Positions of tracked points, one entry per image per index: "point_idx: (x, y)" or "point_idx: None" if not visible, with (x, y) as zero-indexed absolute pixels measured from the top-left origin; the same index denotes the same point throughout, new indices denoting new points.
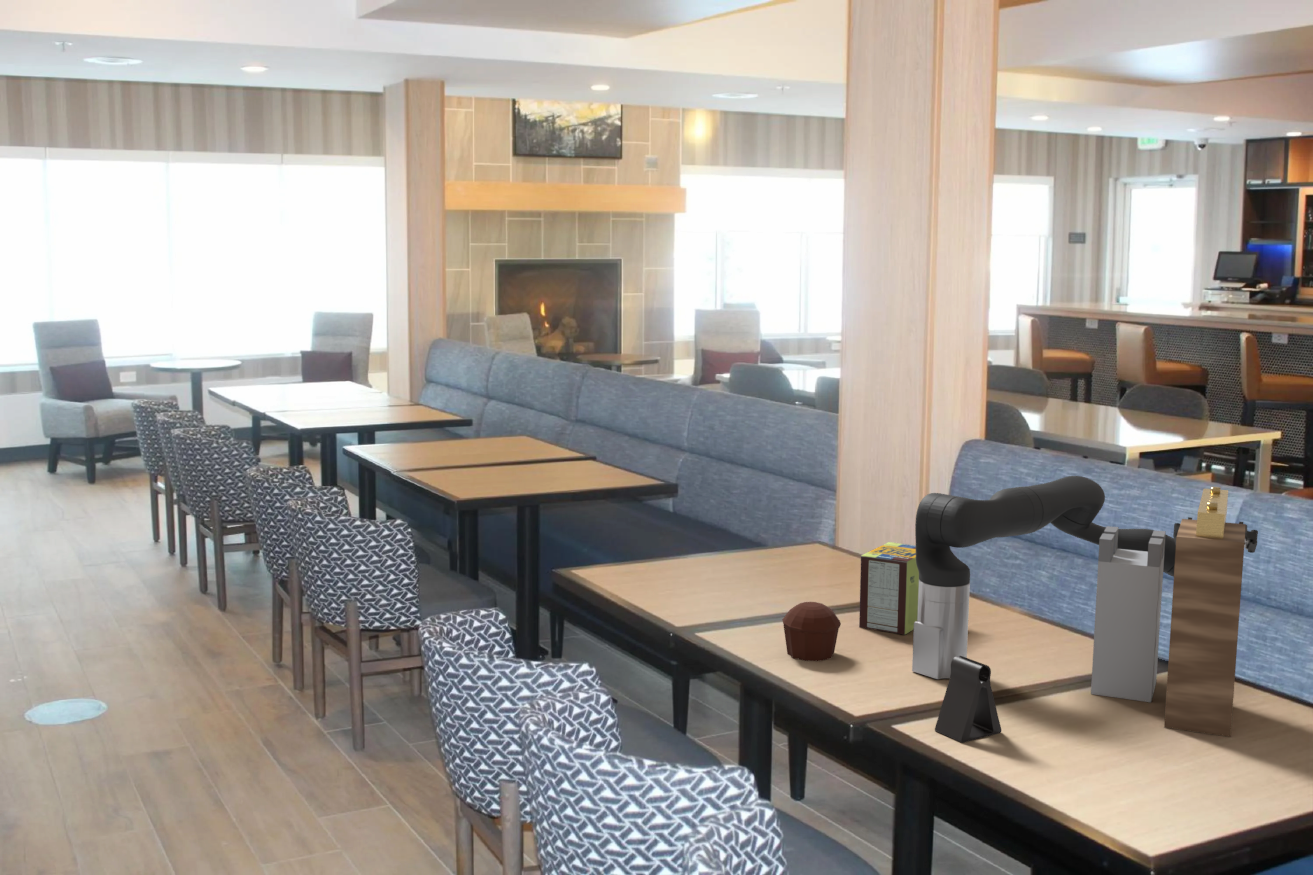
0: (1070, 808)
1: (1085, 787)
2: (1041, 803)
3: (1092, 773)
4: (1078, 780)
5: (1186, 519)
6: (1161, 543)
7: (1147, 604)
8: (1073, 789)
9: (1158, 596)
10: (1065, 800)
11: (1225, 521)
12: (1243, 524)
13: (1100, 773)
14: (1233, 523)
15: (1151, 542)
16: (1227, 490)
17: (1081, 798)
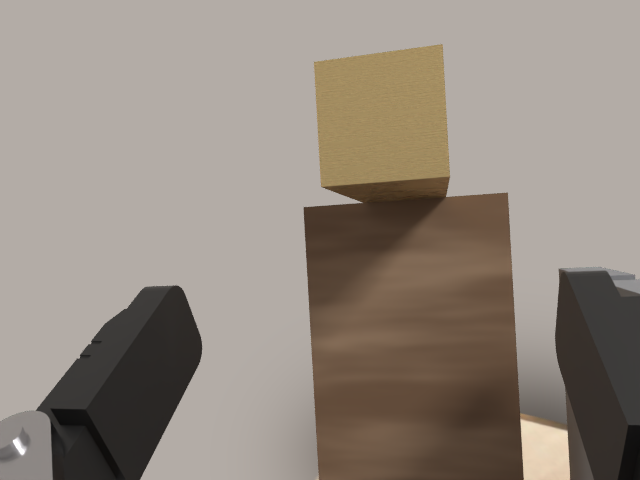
0: (539, 428)
1: (543, 452)
2: (567, 429)
3: (550, 472)
4: (557, 460)
5: (491, 194)
6: (564, 271)
7: None
8: (552, 448)
9: (579, 466)
10: (550, 435)
11: (362, 201)
12: (312, 207)
13: (541, 474)
14: (340, 205)
15: (596, 268)
16: (319, 64)
17: (537, 439)
